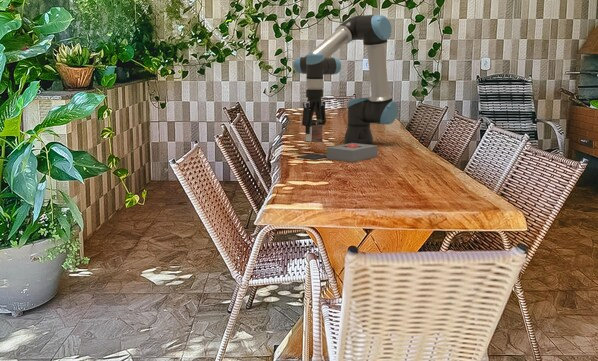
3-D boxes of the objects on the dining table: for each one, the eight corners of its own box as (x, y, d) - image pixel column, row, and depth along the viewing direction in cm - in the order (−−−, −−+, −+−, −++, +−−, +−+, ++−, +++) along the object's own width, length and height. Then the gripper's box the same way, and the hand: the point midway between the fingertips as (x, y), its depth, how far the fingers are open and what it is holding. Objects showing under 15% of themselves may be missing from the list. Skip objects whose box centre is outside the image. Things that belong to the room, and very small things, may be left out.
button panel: (351, 153, 326) (351, 142, 325) (377, 156, 317) (377, 145, 316) (326, 158, 311) (326, 147, 310) (352, 162, 302) (353, 150, 301)
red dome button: (350, 154, 317) (351, 143, 316) (359, 155, 314) (360, 144, 313) (344, 155, 313) (345, 144, 312) (353, 156, 310) (354, 145, 310)
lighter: (306, 142, 311) (306, 119, 309) (304, 141, 314) (304, 119, 312) (323, 141, 313) (323, 119, 311) (321, 140, 316) (321, 118, 314)
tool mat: (313, 154, 322) (313, 153, 322) (330, 156, 316) (330, 155, 316) (296, 157, 313) (296, 156, 313) (314, 160, 307) (314, 158, 307)
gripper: (321, 87, 319) (320, 137, 323) (293, 89, 304) (293, 141, 308) (334, 88, 314) (333, 139, 319) (307, 89, 299) (306, 143, 303)
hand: (313, 140), depth 313 cm, fingers closed on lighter, 7 cm apart
